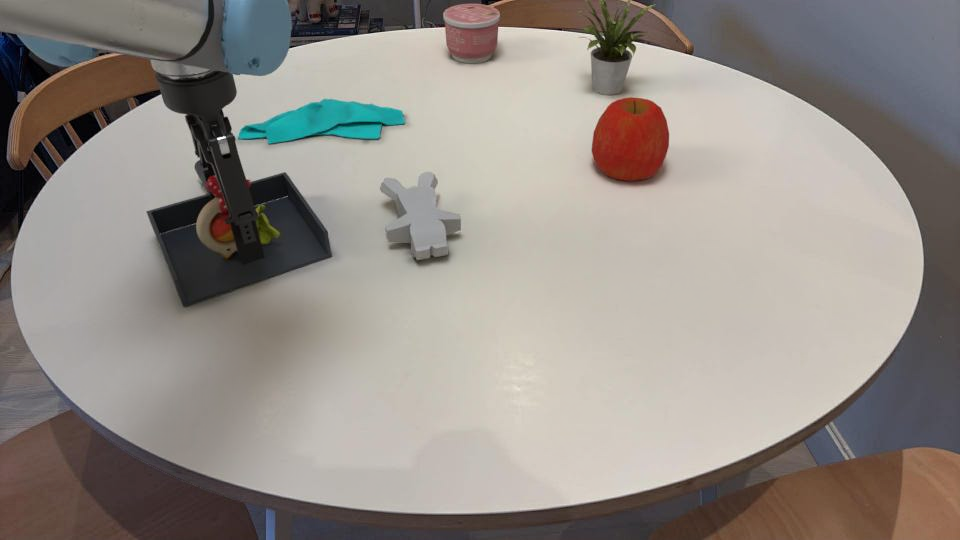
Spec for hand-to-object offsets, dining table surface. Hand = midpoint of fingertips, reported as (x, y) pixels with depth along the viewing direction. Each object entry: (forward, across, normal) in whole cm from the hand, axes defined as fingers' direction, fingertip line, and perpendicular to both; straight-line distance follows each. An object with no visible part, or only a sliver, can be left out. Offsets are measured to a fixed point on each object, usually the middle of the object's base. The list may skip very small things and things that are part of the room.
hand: (239, 235), depth 87 cm
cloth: (+2, +26, -21) cm, 33 cm away
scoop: (+2, +6, 0) cm, 6 cm away
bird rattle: (+2, -1, 0) cm, 2 cm away
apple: (+2, -10, -54) cm, 55 cm away
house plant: (+2, +13, -67) cm, 68 cm away
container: (+2, +37, -55) cm, 66 cm away
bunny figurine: (+2, -8, -21) cm, 23 cm away
